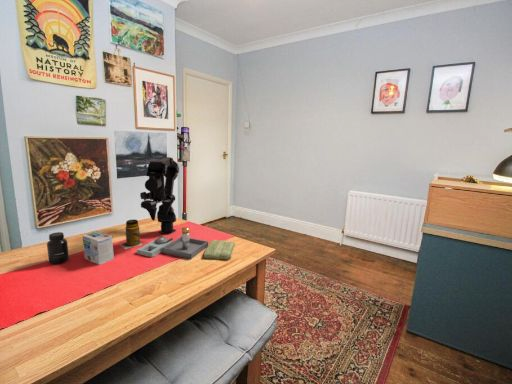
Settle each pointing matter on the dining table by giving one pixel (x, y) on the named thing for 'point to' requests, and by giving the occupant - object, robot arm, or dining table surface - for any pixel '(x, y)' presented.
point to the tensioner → (154, 246)
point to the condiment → (132, 235)
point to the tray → (177, 250)
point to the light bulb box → (98, 247)
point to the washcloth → (219, 250)
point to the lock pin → (185, 238)
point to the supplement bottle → (57, 248)
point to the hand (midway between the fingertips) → (159, 217)
